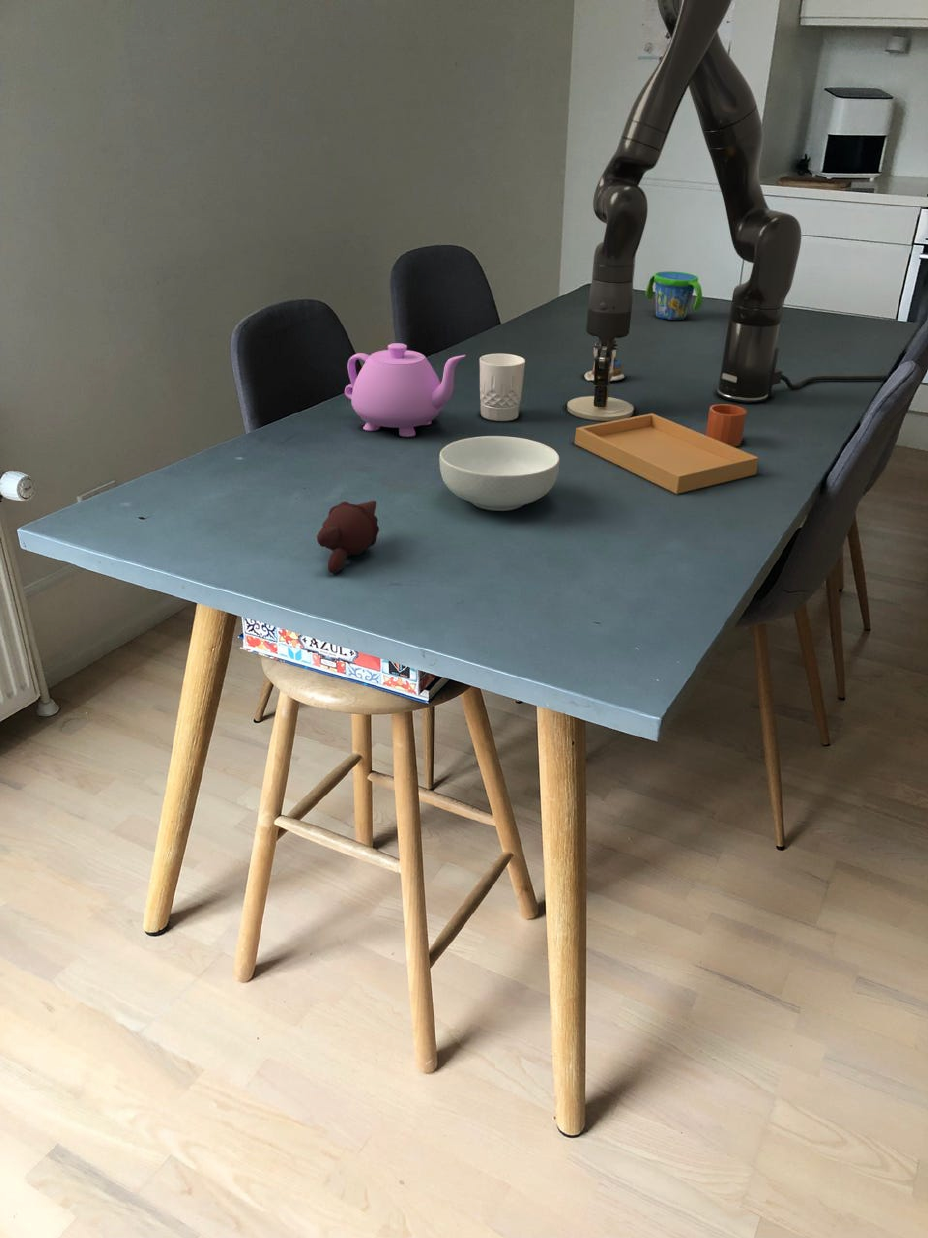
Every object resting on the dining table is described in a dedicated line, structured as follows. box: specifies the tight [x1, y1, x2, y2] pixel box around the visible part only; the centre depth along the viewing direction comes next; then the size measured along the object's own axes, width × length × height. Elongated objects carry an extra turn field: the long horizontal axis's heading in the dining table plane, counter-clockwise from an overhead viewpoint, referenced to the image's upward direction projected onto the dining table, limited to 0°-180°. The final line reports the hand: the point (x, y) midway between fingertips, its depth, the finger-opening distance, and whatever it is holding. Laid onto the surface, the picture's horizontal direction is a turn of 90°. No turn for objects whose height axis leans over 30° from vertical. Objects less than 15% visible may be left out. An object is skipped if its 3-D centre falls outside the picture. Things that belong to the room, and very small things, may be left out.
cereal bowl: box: [438, 435, 561, 512], centre depth 143 cm, size 17×17×7 cm
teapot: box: [344, 342, 466, 438], centre depth 168 cm, size 22×16×14 cm
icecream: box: [316, 500, 380, 574], centre depth 127 cm, size 7×7×15 cm
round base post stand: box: [566, 371, 635, 422], centre depth 181 cm, size 12×12×7 cm
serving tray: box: [574, 412, 759, 495], centre depth 161 cm, size 17×25×3 cm
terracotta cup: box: [705, 403, 747, 448], centre depth 168 cm, size 6×6×6 cm
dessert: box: [584, 359, 625, 382], centre depth 200 cm, size 8×7×6 cm
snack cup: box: [645, 270, 703, 321], centre depth 246 cm, size 16×10×10 cm
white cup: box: [479, 353, 526, 422], centre depth 176 cm, size 8×8×10 cm
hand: (600, 402), depth 182 cm, fingers open, 3 cm apart
